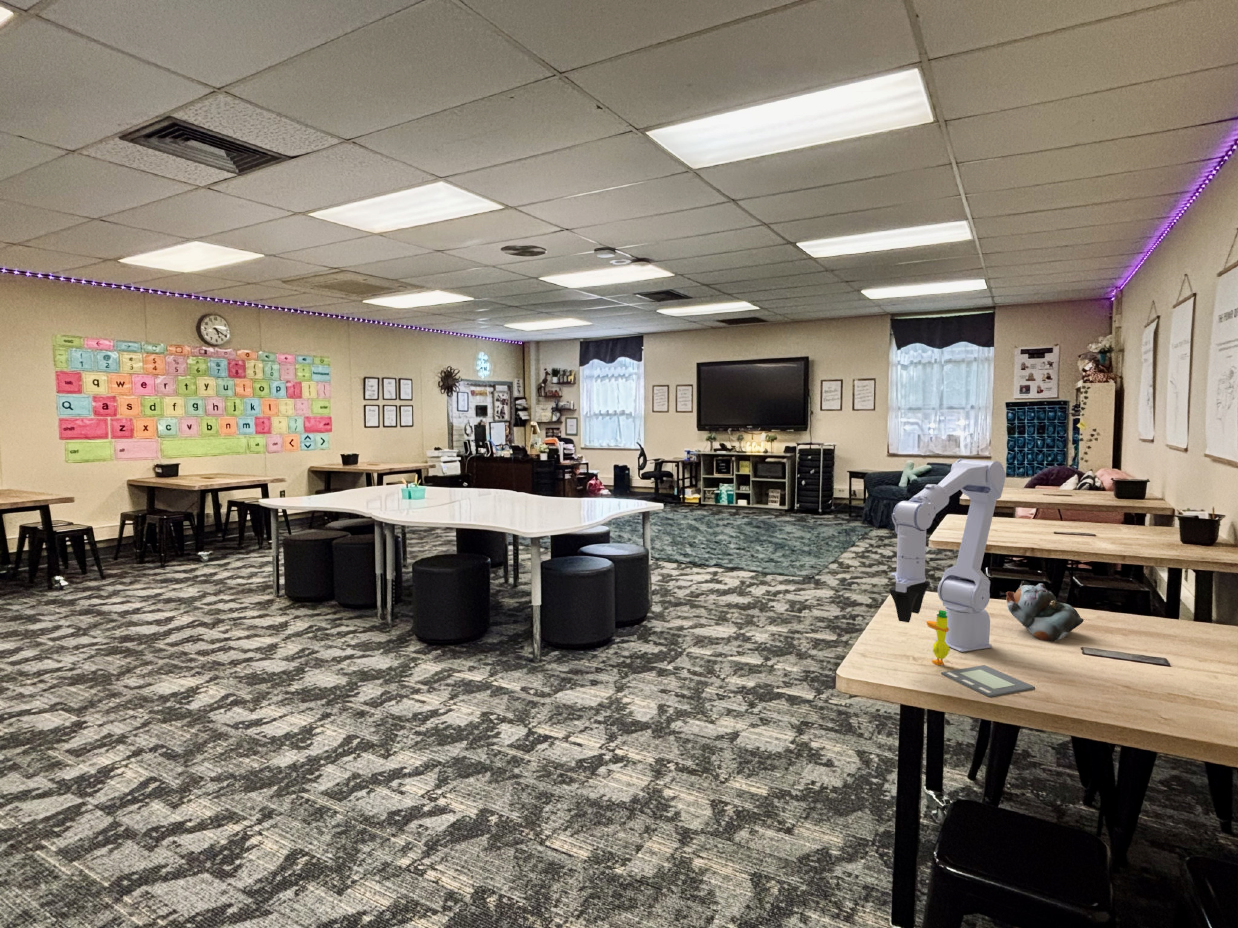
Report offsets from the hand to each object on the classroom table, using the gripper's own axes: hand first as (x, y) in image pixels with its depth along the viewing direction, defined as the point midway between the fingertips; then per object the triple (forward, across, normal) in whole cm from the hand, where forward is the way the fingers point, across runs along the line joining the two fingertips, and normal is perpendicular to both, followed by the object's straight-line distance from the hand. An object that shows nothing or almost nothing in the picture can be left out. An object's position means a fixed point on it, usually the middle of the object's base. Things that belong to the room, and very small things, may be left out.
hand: (909, 616), depth 147 cm
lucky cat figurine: (+11, -40, +21) cm, 47 cm away
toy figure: (+10, -3, +5) cm, 12 cm away
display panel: (+10, +1, +16) cm, 19 cm away
